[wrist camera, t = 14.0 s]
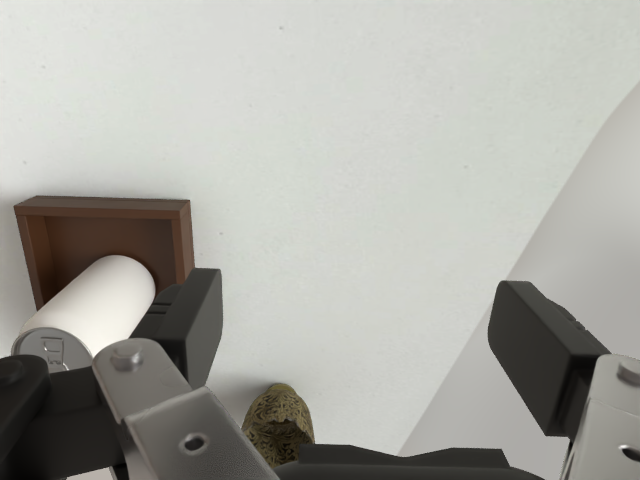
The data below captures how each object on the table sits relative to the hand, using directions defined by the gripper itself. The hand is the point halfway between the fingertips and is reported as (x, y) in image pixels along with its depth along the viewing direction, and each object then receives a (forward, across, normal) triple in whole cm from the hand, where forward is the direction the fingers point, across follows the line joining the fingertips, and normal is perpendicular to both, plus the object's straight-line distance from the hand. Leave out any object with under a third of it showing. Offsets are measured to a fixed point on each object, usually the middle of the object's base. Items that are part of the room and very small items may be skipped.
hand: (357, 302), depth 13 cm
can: (+26, +19, +14) cm, 35 cm away
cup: (+27, +4, +27) cm, 38 cm away
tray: (+27, +19, +14) cm, 36 cm away
